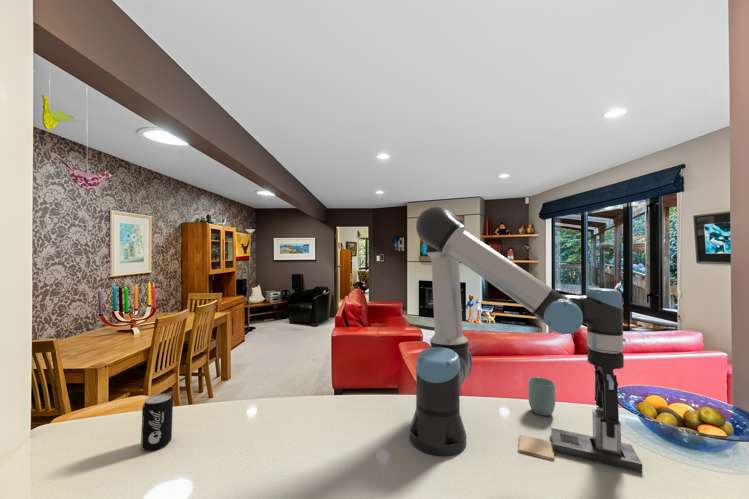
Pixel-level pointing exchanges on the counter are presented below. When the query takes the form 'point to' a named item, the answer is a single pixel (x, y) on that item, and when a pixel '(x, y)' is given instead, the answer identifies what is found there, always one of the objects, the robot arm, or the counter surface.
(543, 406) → the cup
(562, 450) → the grey recessed tray
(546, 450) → the cork pad
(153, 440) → the beverage can
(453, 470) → the counter surface
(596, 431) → the steel peg
